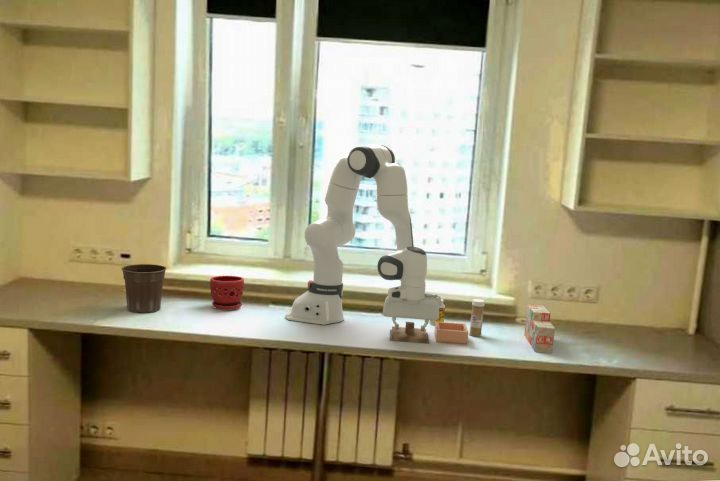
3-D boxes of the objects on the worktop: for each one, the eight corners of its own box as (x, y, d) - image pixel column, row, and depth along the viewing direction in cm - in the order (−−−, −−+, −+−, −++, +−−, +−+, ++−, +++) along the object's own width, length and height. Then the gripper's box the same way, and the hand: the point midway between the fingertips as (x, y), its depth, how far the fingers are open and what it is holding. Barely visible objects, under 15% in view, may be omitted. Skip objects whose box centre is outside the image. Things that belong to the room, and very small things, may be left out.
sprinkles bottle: (467, 335, 262) (471, 300, 260) (470, 332, 267) (473, 298, 265) (480, 337, 261) (483, 302, 259) (482, 334, 265) (486, 299, 263)
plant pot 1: (111, 308, 267) (112, 266, 264) (146, 301, 280) (147, 261, 277) (139, 317, 257) (140, 274, 255) (174, 309, 271) (175, 268, 268)
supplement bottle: (435, 327, 270) (437, 301, 269) (426, 323, 275) (428, 298, 273) (446, 326, 273) (448, 300, 272) (437, 322, 278) (439, 297, 276)
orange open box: (436, 343, 250) (437, 329, 249) (434, 334, 261) (435, 321, 260) (467, 345, 250) (468, 332, 249) (464, 336, 260) (465, 323, 260)
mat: (389, 341, 248) (389, 340, 248) (389, 330, 262) (389, 329, 262) (429, 344, 248) (429, 343, 248) (427, 333, 261) (427, 332, 261)
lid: (391, 340, 249) (392, 326, 248) (391, 330, 261) (392, 317, 260) (427, 342, 248) (428, 329, 248) (425, 332, 261) (426, 319, 260)
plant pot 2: (248, 305, 284) (249, 276, 282) (234, 313, 272) (236, 282, 270) (217, 301, 287) (219, 273, 285) (203, 309, 274) (204, 279, 273)
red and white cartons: (552, 353, 247) (556, 319, 245) (534, 352, 248) (538, 318, 246) (540, 336, 268) (543, 304, 267) (523, 335, 269) (527, 303, 267)
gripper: (441, 292, 255) (437, 329, 257) (384, 288, 256) (381, 325, 258) (442, 296, 249) (438, 334, 251) (384, 292, 249) (381, 330, 252)
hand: (409, 330), depth 254 cm, fingers open, 8 cm apart
